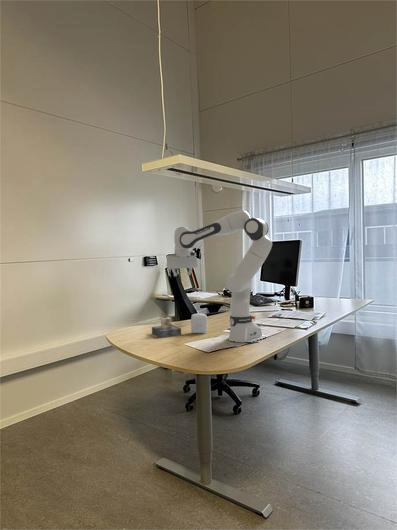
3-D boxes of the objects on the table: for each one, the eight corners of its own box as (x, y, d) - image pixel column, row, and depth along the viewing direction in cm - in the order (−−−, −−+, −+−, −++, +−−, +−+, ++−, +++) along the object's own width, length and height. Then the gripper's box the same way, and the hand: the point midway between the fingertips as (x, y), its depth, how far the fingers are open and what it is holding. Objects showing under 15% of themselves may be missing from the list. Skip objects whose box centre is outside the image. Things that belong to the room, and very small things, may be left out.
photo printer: (207, 332, 228) (207, 312, 227) (207, 333, 223) (206, 314, 223) (191, 332, 229) (191, 313, 228) (191, 333, 224) (190, 314, 224)
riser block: (171, 330, 234) (171, 324, 234) (181, 334, 222) (180, 328, 222) (152, 333, 228) (151, 327, 227) (160, 337, 215) (160, 331, 215)
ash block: (168, 326, 228) (168, 317, 228) (171, 328, 224) (171, 318, 223) (161, 327, 226) (160, 318, 225) (164, 329, 221) (164, 319, 221)
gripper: (168, 253, 213) (169, 276, 213) (198, 253, 222) (198, 274, 223) (164, 253, 218) (165, 276, 219) (193, 252, 228) (194, 274, 229)
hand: (182, 275), depth 221 cm, fingers open, 8 cm apart
